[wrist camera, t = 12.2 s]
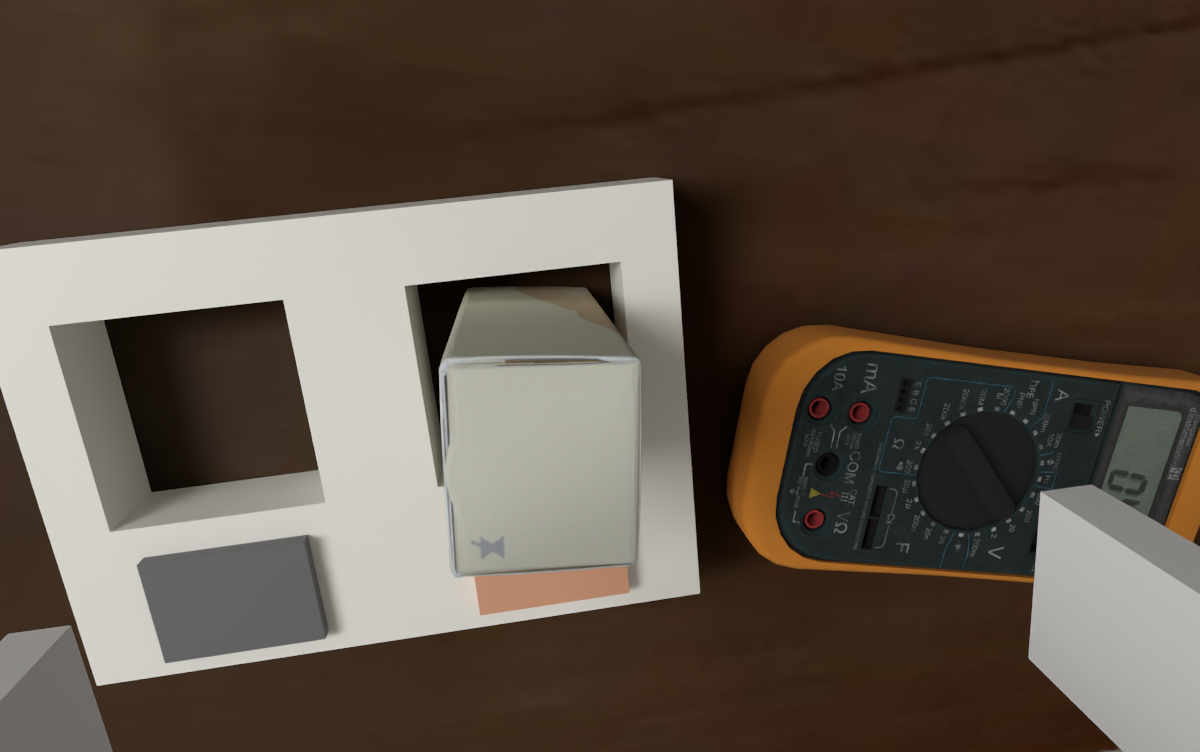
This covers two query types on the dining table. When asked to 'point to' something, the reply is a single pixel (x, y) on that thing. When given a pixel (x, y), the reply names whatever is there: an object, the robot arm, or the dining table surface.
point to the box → (539, 434)
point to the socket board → (322, 426)
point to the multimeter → (947, 451)
